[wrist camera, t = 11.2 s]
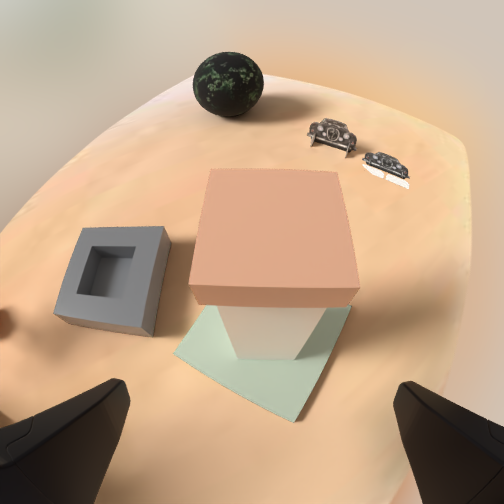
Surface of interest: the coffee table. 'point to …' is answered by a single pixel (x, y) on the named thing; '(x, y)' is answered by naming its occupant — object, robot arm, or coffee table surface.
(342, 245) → the plug
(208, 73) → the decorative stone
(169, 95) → the coffee table surface
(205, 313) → the pad
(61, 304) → the grey square base
